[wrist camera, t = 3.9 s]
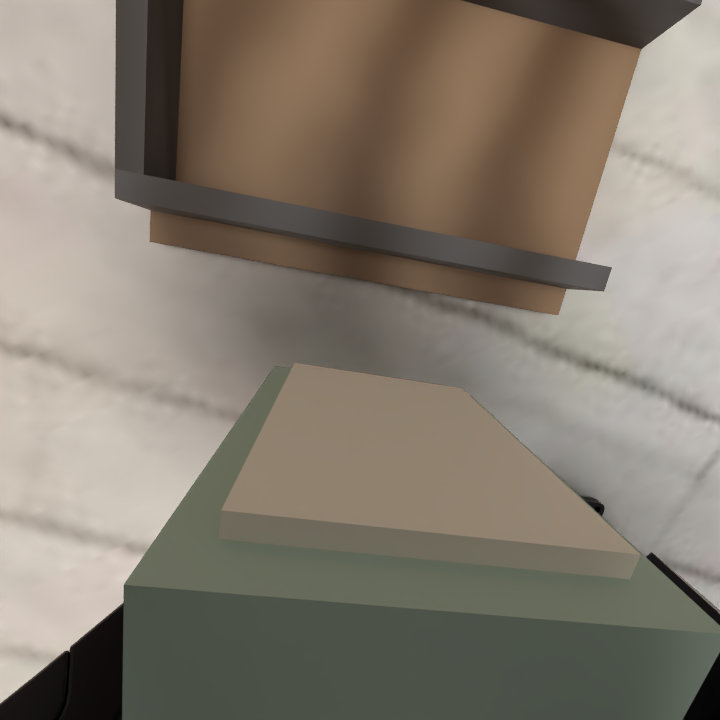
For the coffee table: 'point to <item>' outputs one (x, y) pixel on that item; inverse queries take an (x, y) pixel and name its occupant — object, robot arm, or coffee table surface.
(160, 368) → the coffee table surface
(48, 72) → the coffee table surface
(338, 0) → the cradle
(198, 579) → the cabinet block
